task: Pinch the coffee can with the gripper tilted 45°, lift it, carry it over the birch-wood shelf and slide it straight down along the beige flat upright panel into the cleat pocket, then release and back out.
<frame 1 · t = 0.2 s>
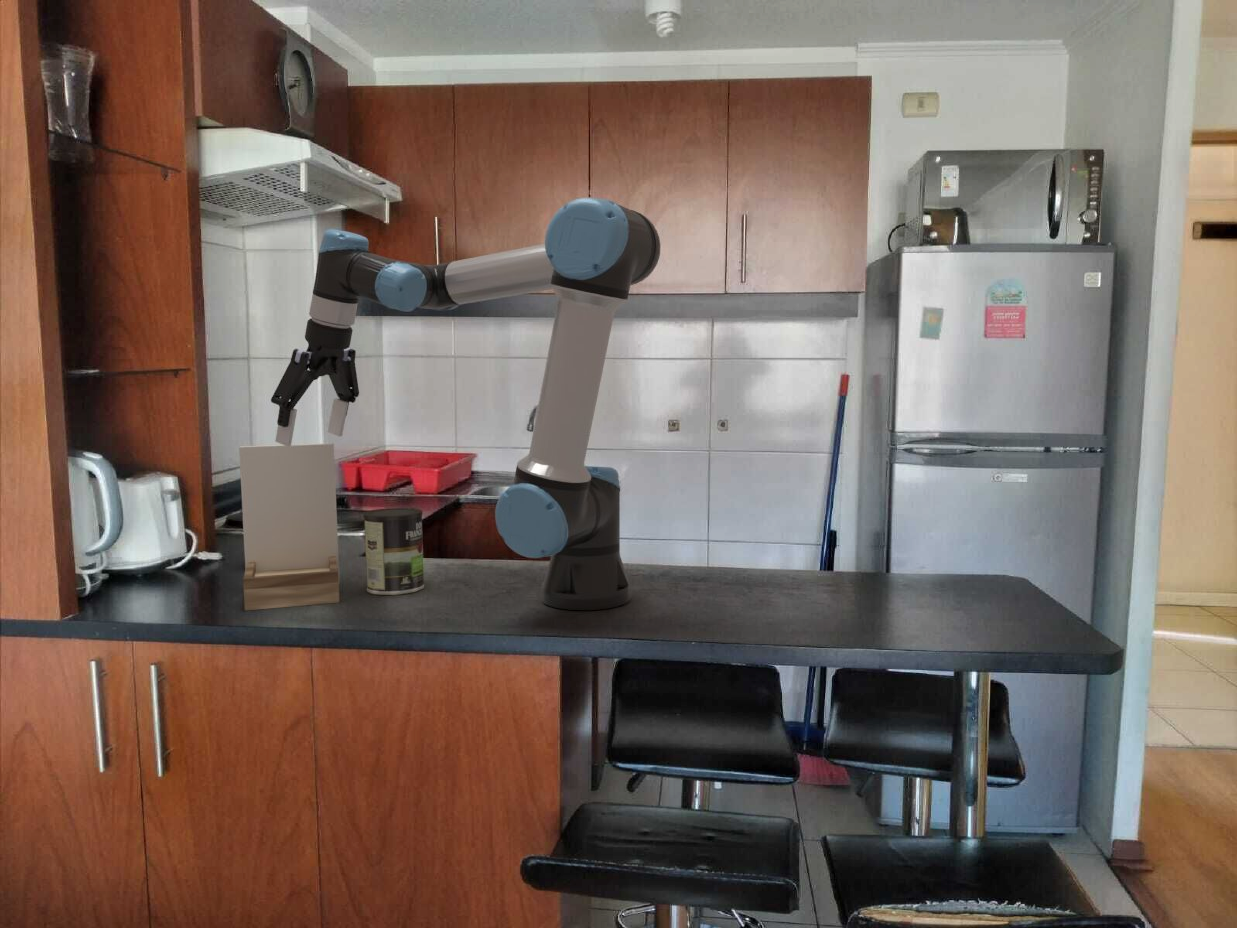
hand: (309, 438, 165), 27 cm above the worktop, tool tilted 20°, fingers open, 13 cm apart
beige flat upright panel: (293, 586, 170), on the worktop
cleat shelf: (293, 596, 163), on the worktop
coffee can: (395, 589, 168), on the worktop
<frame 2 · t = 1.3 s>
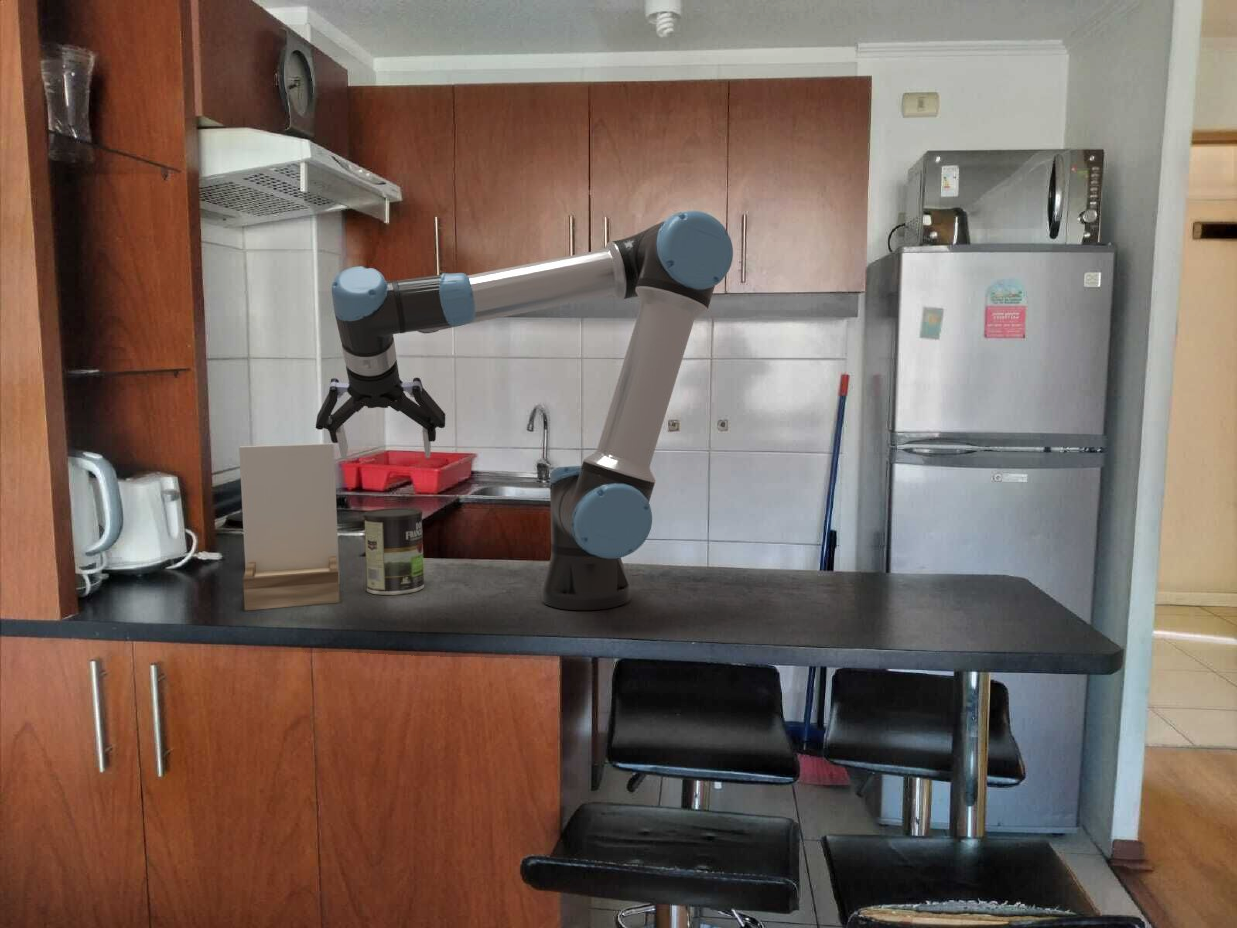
hand: (386, 452, 156), 26 cm above the worktop, tool tilted 45°, fingers open, 13 cm apart
nothing on the worktop moved.
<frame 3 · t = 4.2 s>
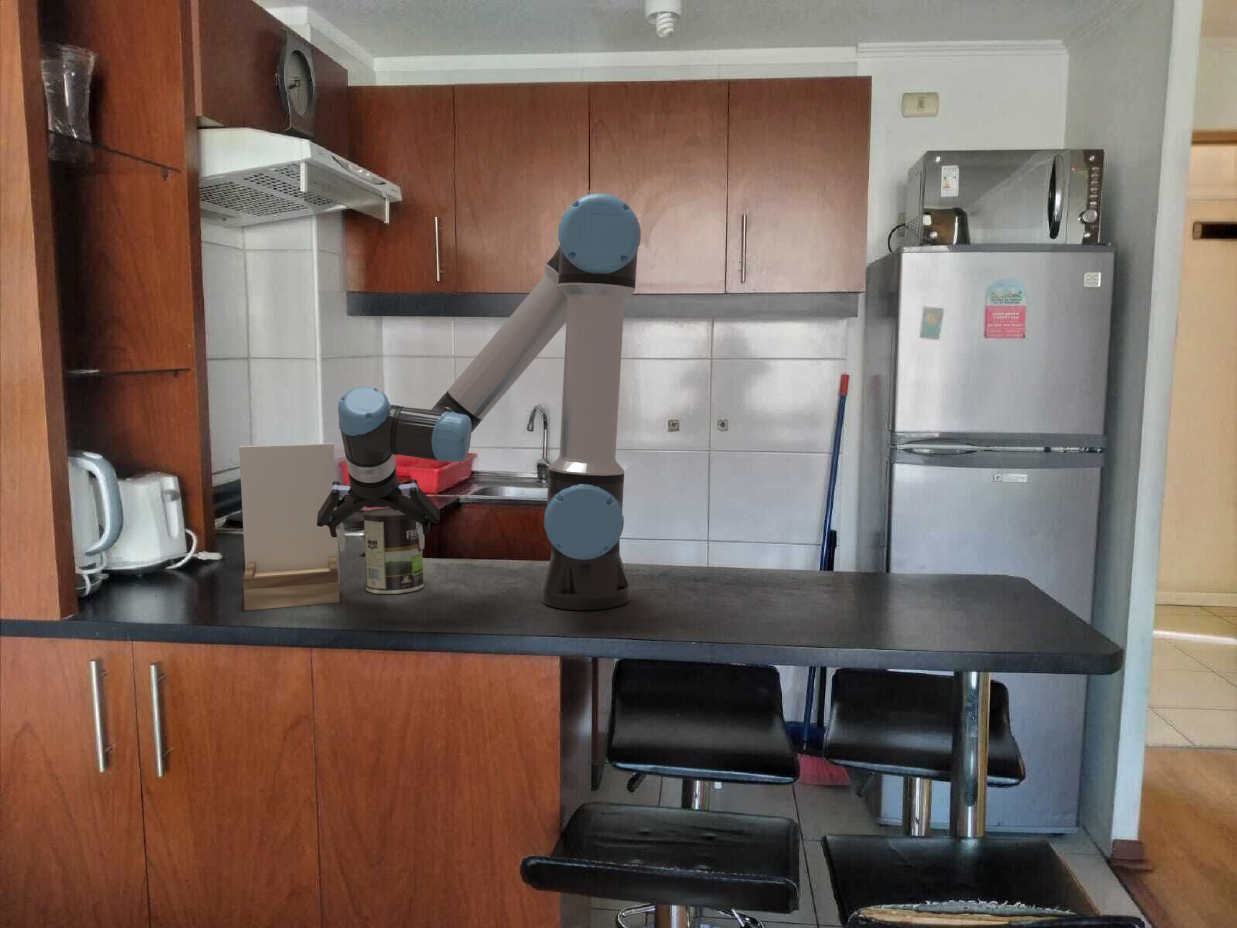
hand: (382, 543, 165), 9 cm above the worktop, tool tilted 45°, fingers open, 13 cm apart
coffee can: (395, 588, 169), on the worktop, touching gripper
everything else where it was.
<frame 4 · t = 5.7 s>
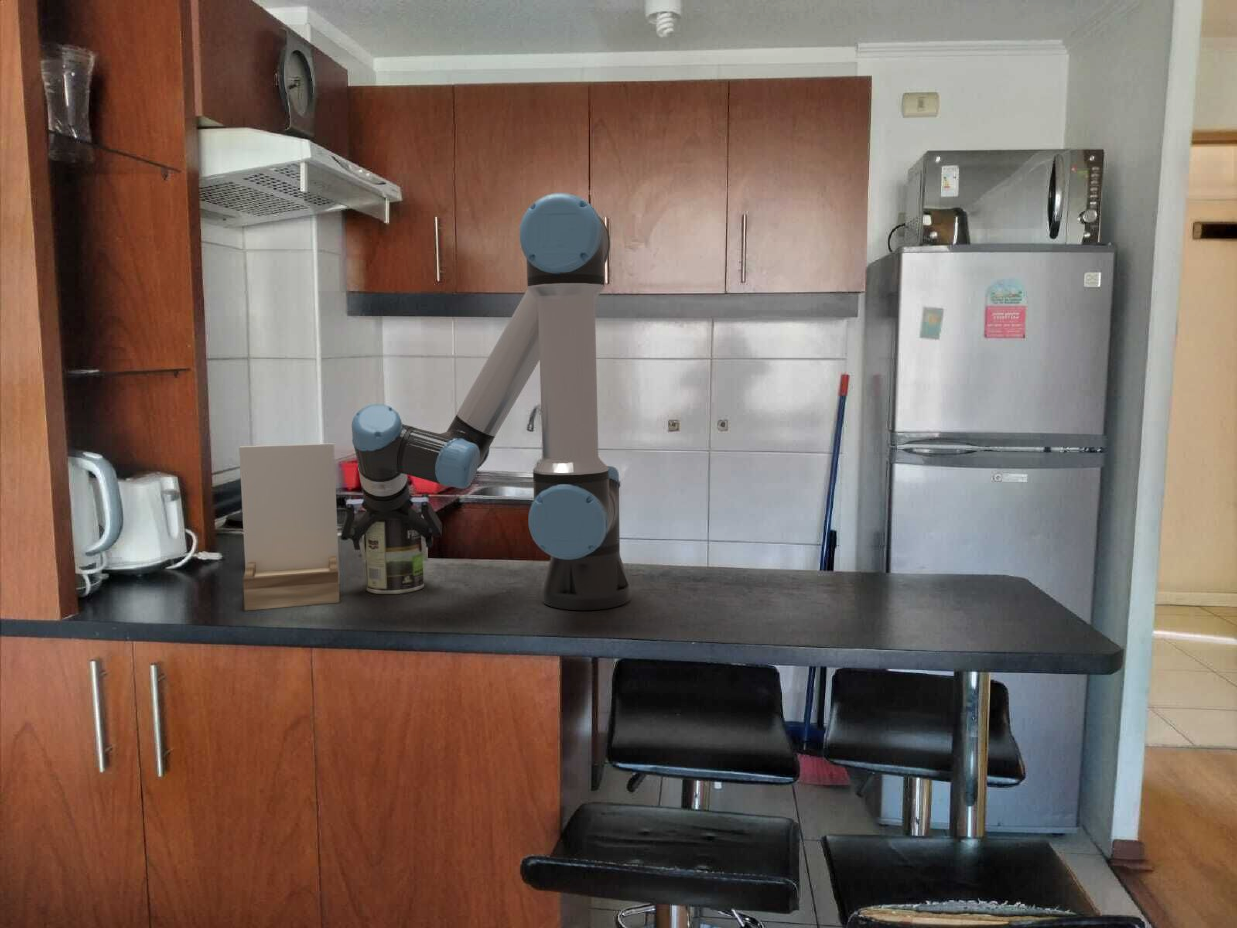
hand: (395, 555, 171), 5 cm above the worktop, tool tilted 45°, fingers closed on coffee can, 10 cm apart
coffee can: (395, 588, 169), on the worktop, touching gripper
everything else where it was.
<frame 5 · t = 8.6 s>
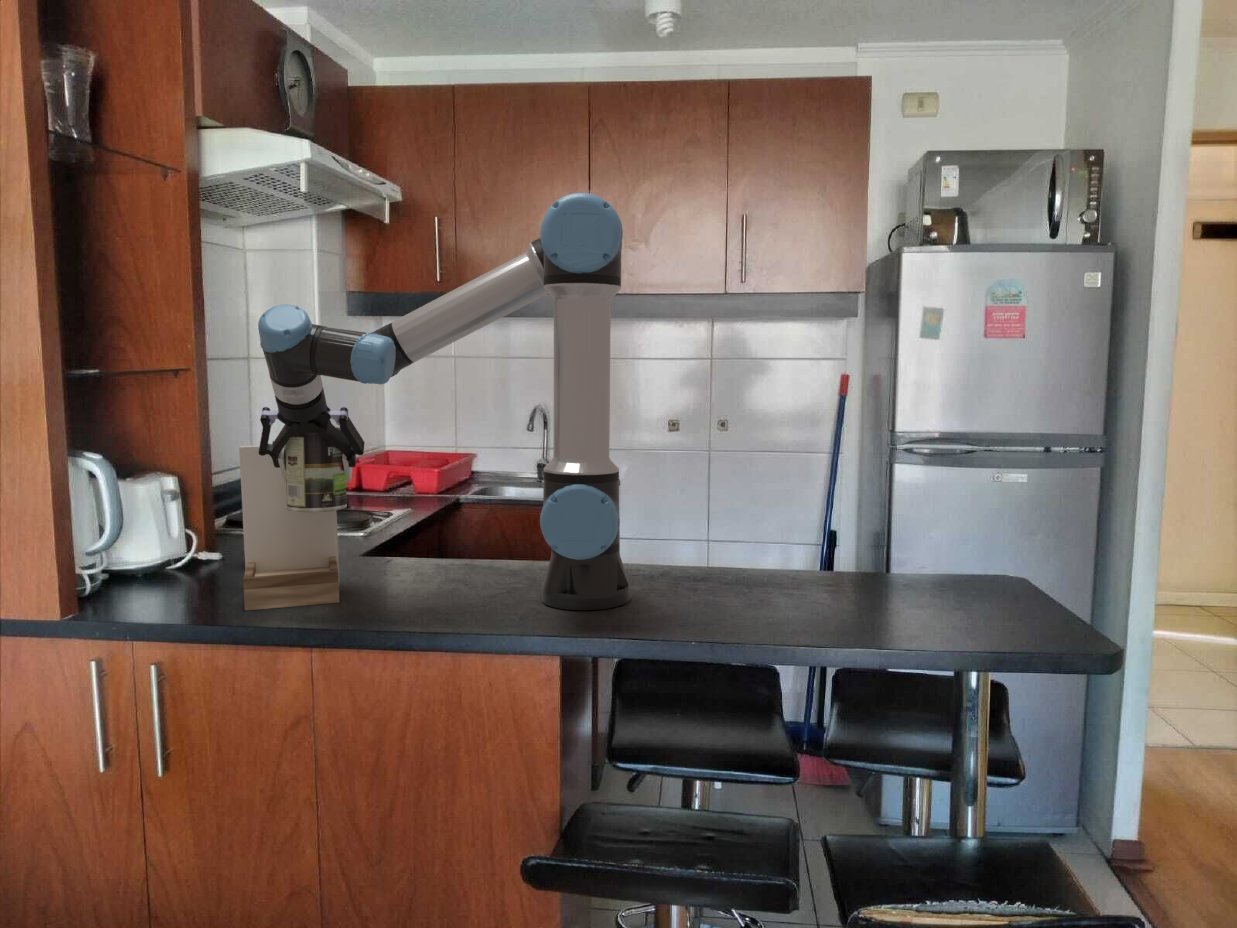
hand: (318, 476, 166), 21 cm above the worktop, tool tilted 45°, fingers closed on coffee can, 10 cm apart
coffee can: (317, 509, 164), point 15 cm above the worktop, touching gripper
everything else where it was.
when the fingers open (10 cm above the worktop, at t = 11.5 s): coffee can drops 1 cm, resting on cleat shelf.
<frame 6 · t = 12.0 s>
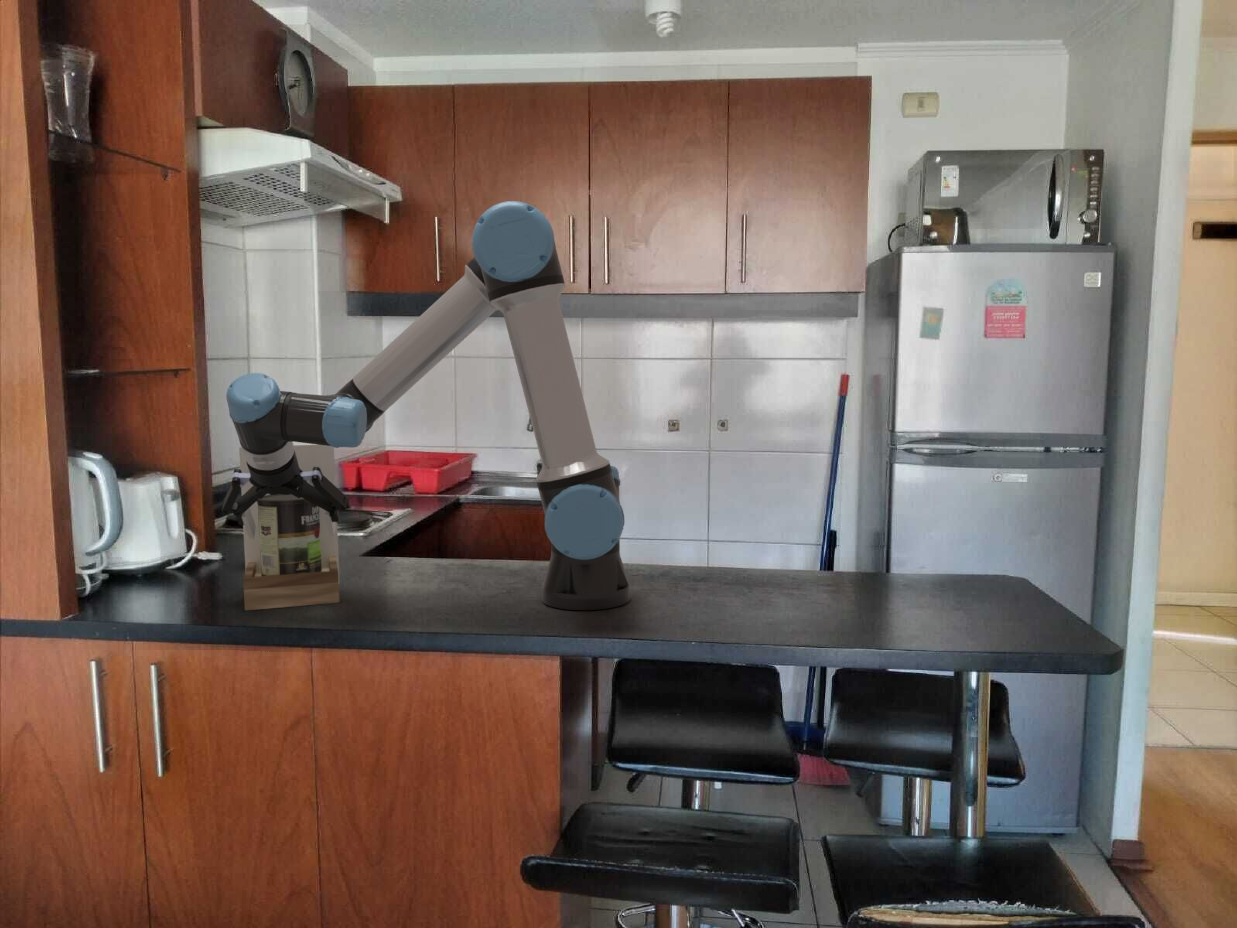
hand: (293, 531, 164), 11 cm above the worktop, tool tilted 45°, fingers open, 13 cm apart
coffee can: (292, 576, 163), point 3 cm above the worktop, touching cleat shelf
everything else where it was.
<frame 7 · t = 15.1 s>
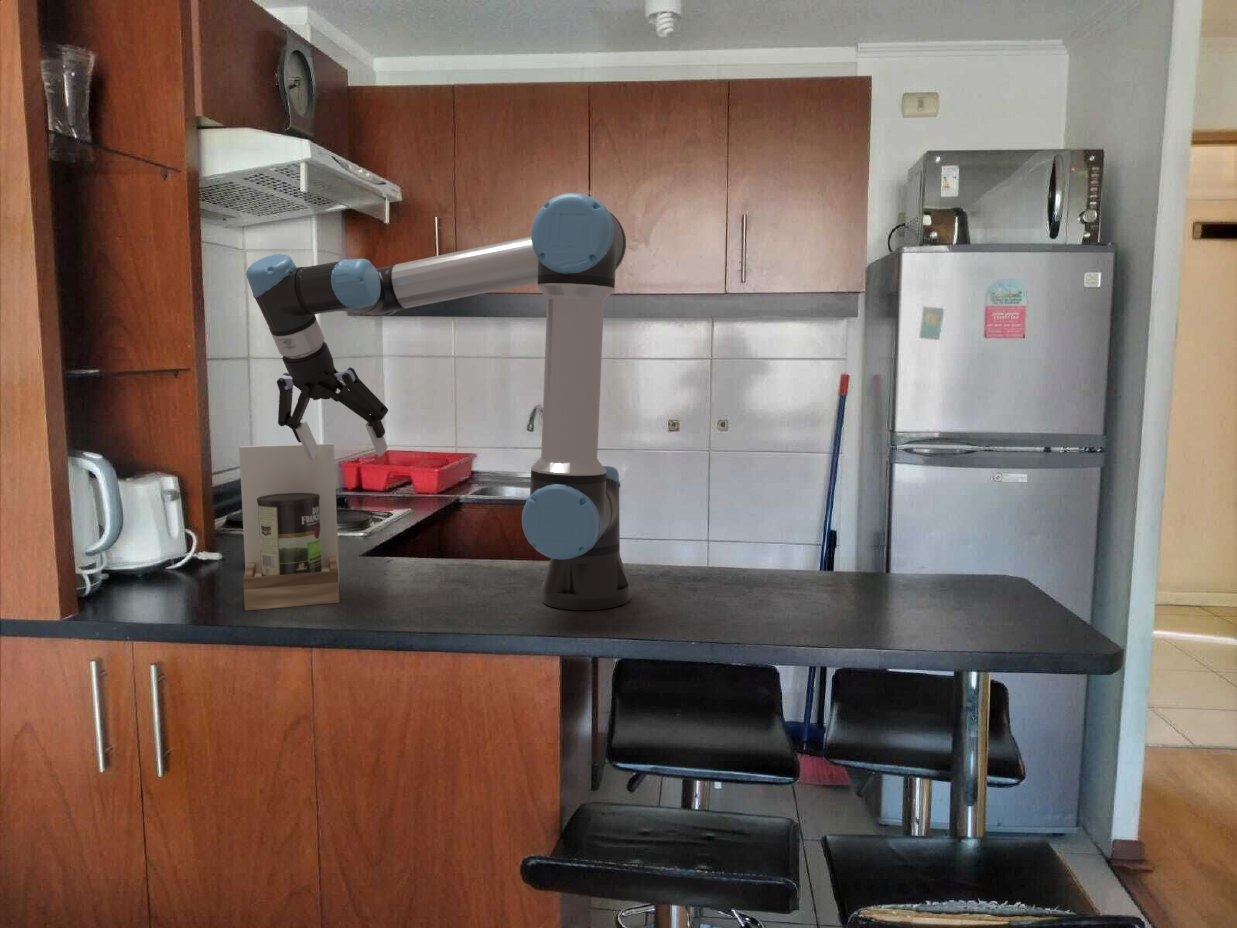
hand: (348, 454, 165), 25 cm above the worktop, tool tilted 30°, fingers open, 13 cm apart
nothing on the worktop moved.
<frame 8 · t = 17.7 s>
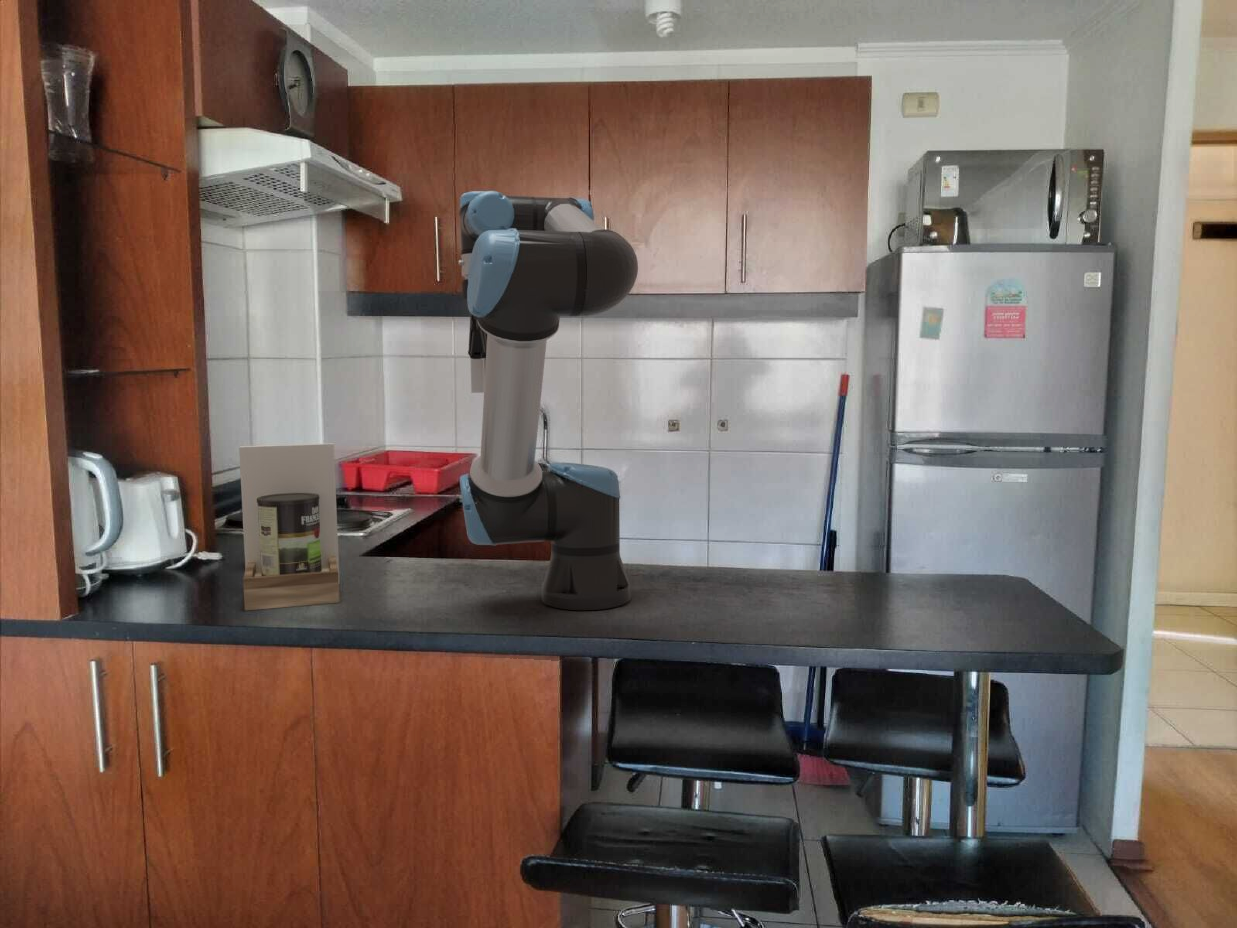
hand: (484, 393, 175), 35 cm above the worktop, tool pointing down, fingers open, 13 cm apart
nothing on the worktop moved.
at the end: coffee can 0.6 cm off-centre on the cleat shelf, point 3.3 cm above the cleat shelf's base; coffee can tilted 0°; the gripper is holding nothing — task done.
